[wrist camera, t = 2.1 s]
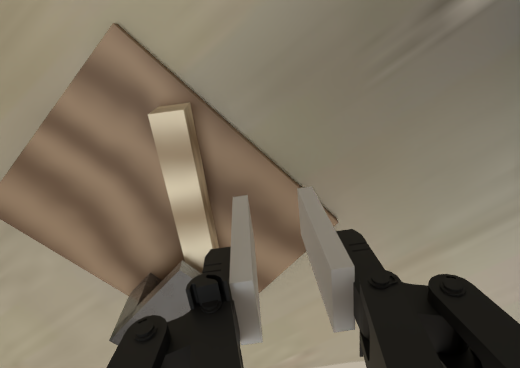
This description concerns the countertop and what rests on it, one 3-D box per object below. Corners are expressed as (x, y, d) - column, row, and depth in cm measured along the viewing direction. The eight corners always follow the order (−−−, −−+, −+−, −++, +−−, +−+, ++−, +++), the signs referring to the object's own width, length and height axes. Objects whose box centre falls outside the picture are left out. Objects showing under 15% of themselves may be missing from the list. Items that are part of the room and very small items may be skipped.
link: (237, 301, 40) (237, 326, 37) (198, 306, 40) (193, 332, 37) (200, 101, 31) (195, 108, 27) (148, 107, 31) (135, 115, 27)
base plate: (117, 24, 29) (113, 23, 28) (336, 218, 38) (338, 222, 37) (-12, 203, 35) (-18, 208, 34) (205, 335, 44) (204, 341, 43)
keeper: (189, 231, 37) (179, 270, 30) (227, 257, 38) (224, 299, 32) (130, 293, 40) (109, 340, 33) (167, 315, 41) (153, 364, 35)
